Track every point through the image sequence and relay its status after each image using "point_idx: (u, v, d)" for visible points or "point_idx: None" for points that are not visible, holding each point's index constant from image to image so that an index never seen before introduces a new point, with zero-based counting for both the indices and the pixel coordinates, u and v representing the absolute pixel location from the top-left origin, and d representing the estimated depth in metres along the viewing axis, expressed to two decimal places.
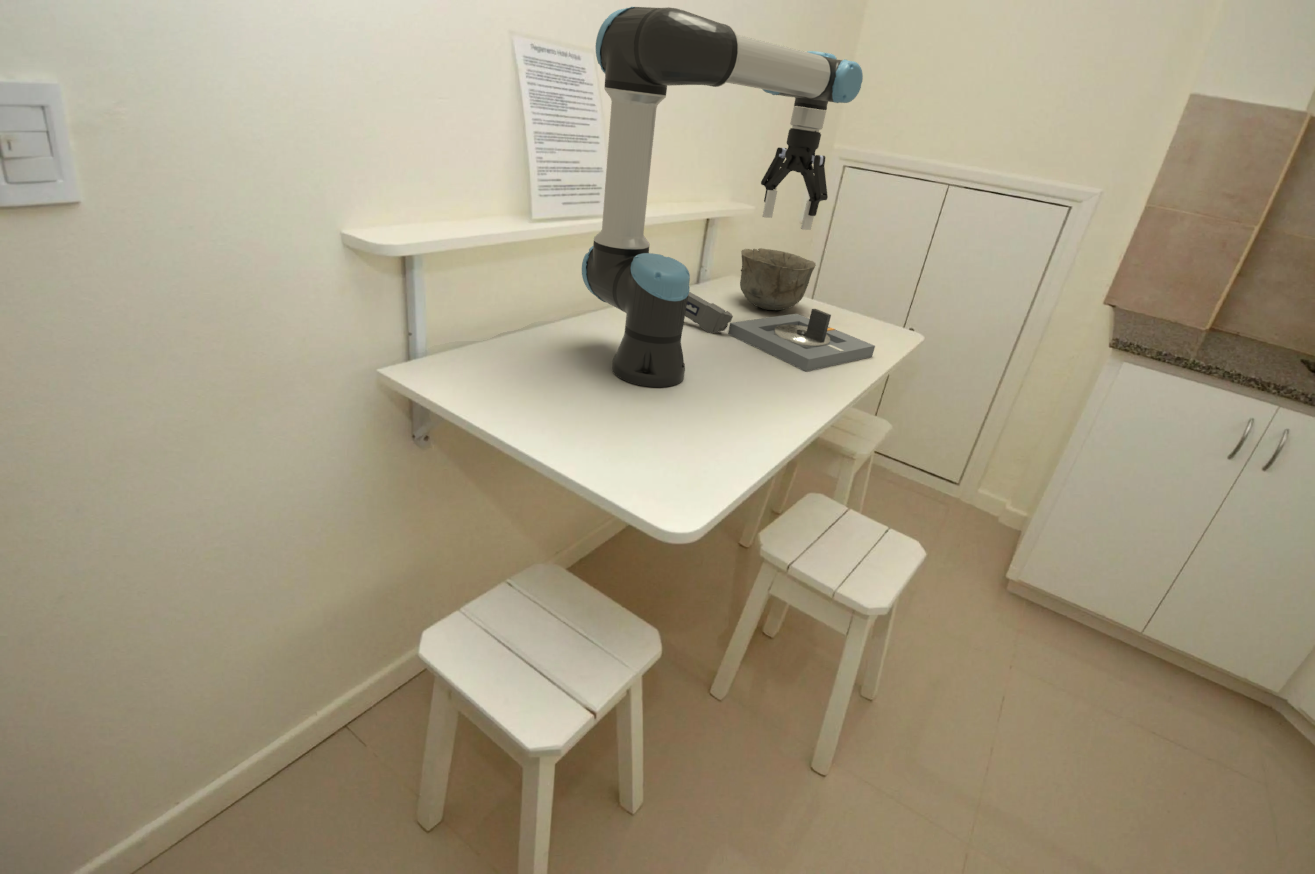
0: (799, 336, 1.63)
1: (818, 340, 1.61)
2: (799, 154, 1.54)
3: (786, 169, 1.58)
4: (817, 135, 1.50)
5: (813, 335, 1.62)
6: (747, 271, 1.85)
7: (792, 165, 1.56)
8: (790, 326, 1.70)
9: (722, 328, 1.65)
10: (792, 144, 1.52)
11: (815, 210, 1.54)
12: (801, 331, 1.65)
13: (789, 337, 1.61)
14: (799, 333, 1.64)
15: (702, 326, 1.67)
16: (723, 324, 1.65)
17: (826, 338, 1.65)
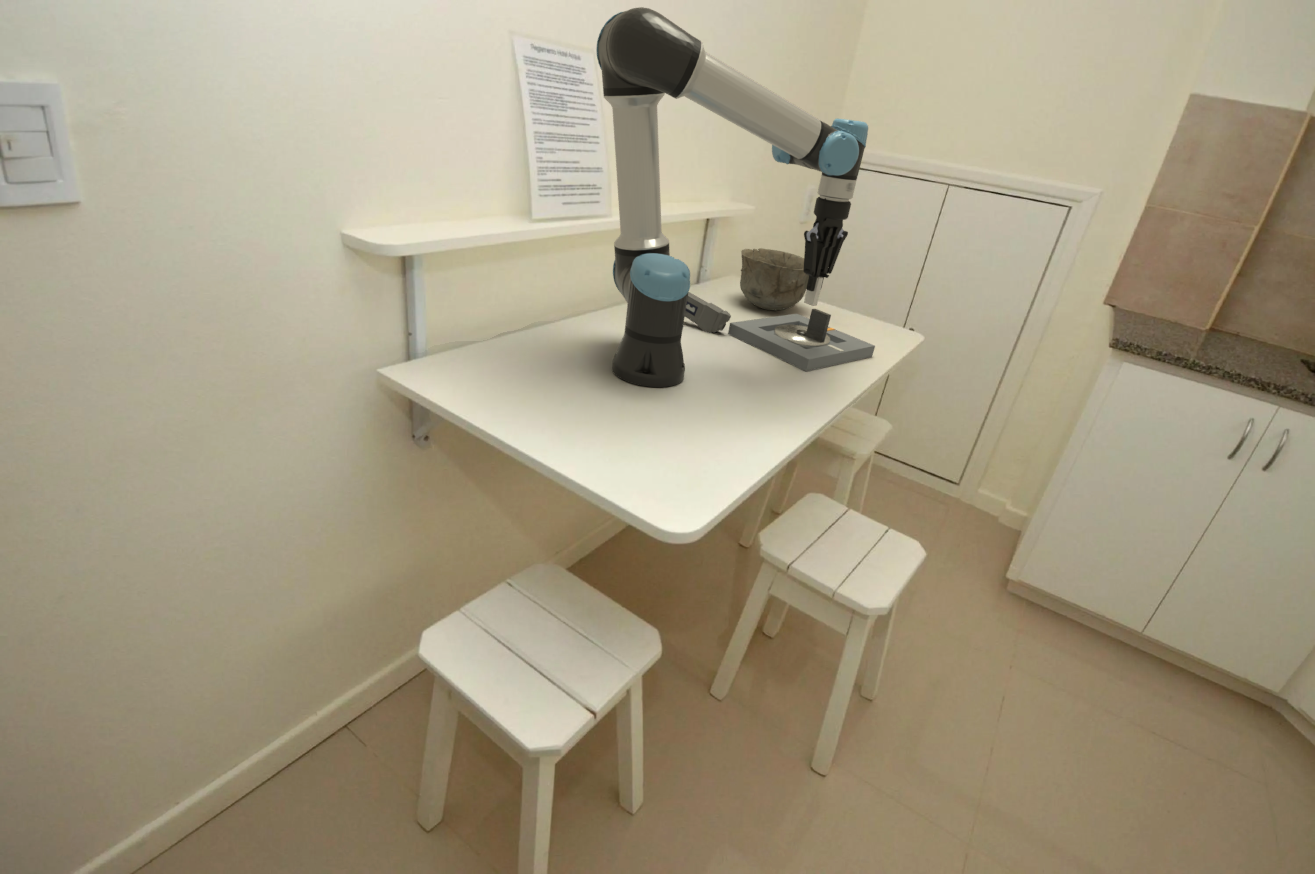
0: (799, 336, 1.63)
1: (818, 340, 1.61)
2: None
3: None
4: (823, 203, 1.40)
5: (813, 335, 1.62)
6: (747, 271, 1.85)
7: None
8: (790, 326, 1.70)
9: (720, 328, 1.65)
10: None
11: (810, 285, 1.50)
12: (801, 331, 1.65)
13: (789, 337, 1.61)
14: (799, 333, 1.64)
15: (700, 326, 1.67)
16: (721, 323, 1.65)
17: (826, 338, 1.65)
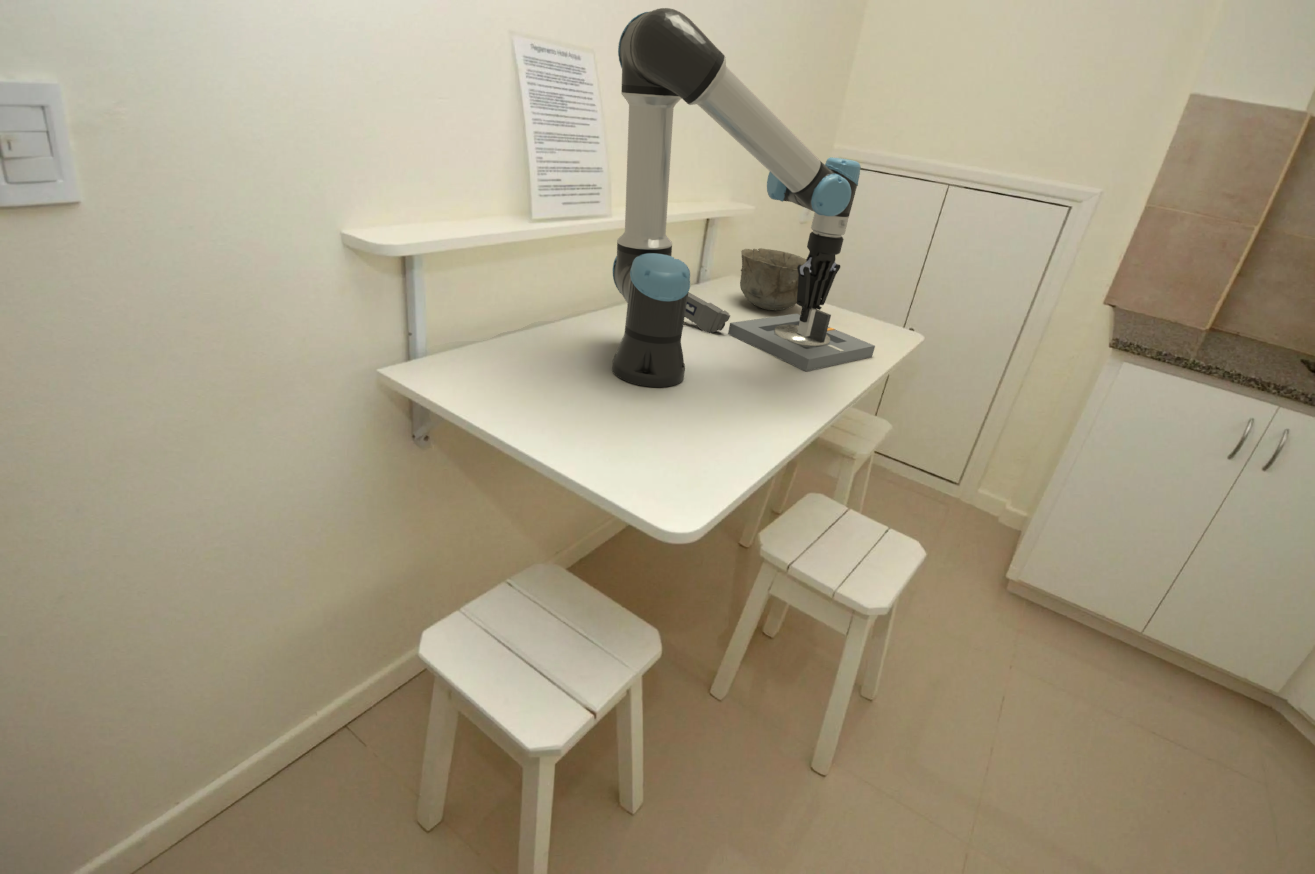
0: (799, 336, 1.63)
1: (818, 340, 1.61)
2: None
3: None
4: (816, 238, 1.44)
5: (813, 335, 1.62)
6: (747, 271, 1.85)
7: None
8: (790, 326, 1.70)
9: (719, 327, 1.65)
10: None
11: (803, 316, 1.54)
12: None
13: (789, 337, 1.61)
14: None
15: (699, 325, 1.67)
16: (720, 323, 1.65)
17: (826, 338, 1.65)
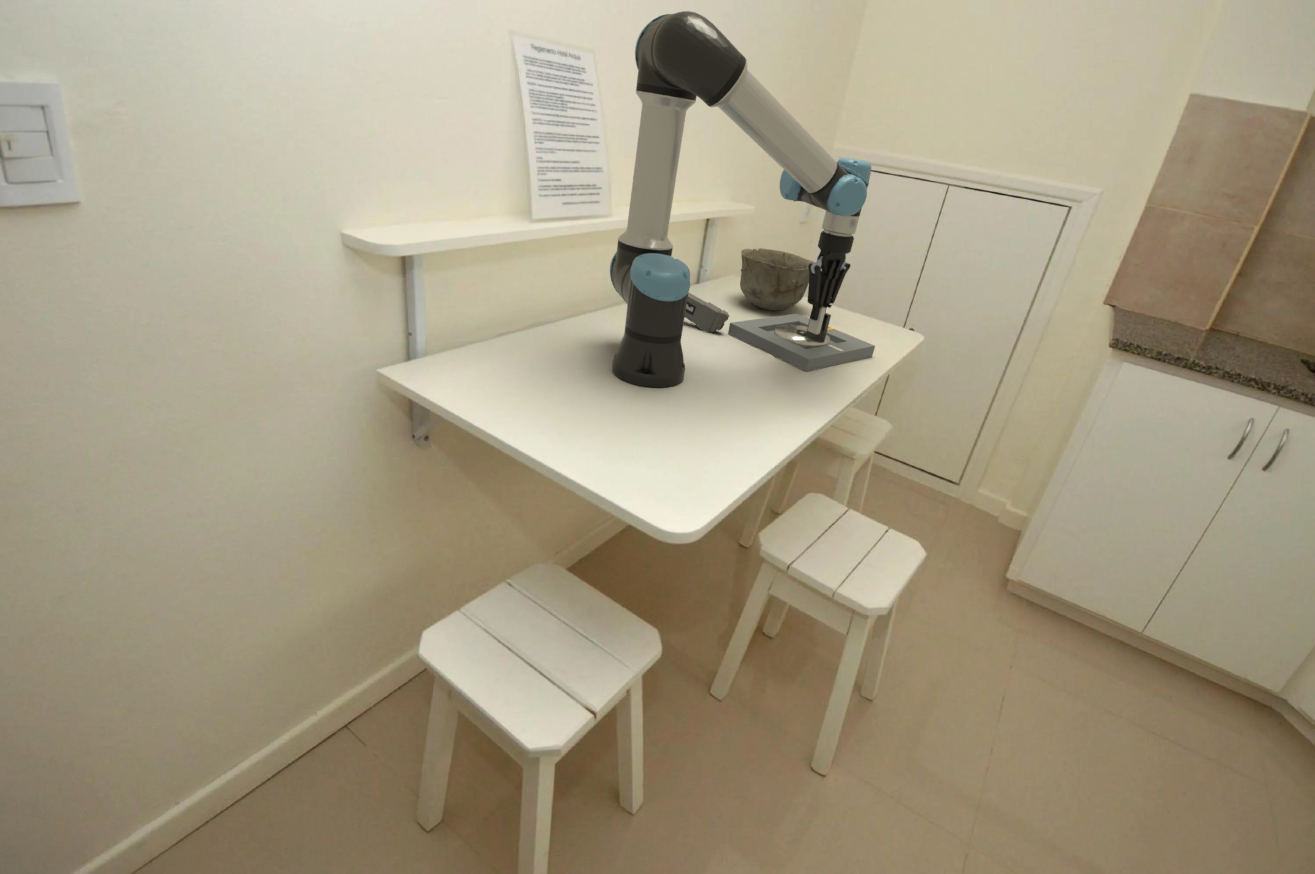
0: (799, 336, 1.63)
1: (818, 340, 1.61)
2: None
3: None
4: (827, 237, 1.46)
5: (813, 335, 1.62)
6: (747, 271, 1.85)
7: None
8: (790, 326, 1.70)
9: (718, 327, 1.65)
10: None
11: (813, 314, 1.56)
12: (801, 331, 1.65)
13: (789, 337, 1.61)
14: (799, 333, 1.64)
15: (699, 325, 1.67)
16: (720, 323, 1.65)
17: (826, 338, 1.65)
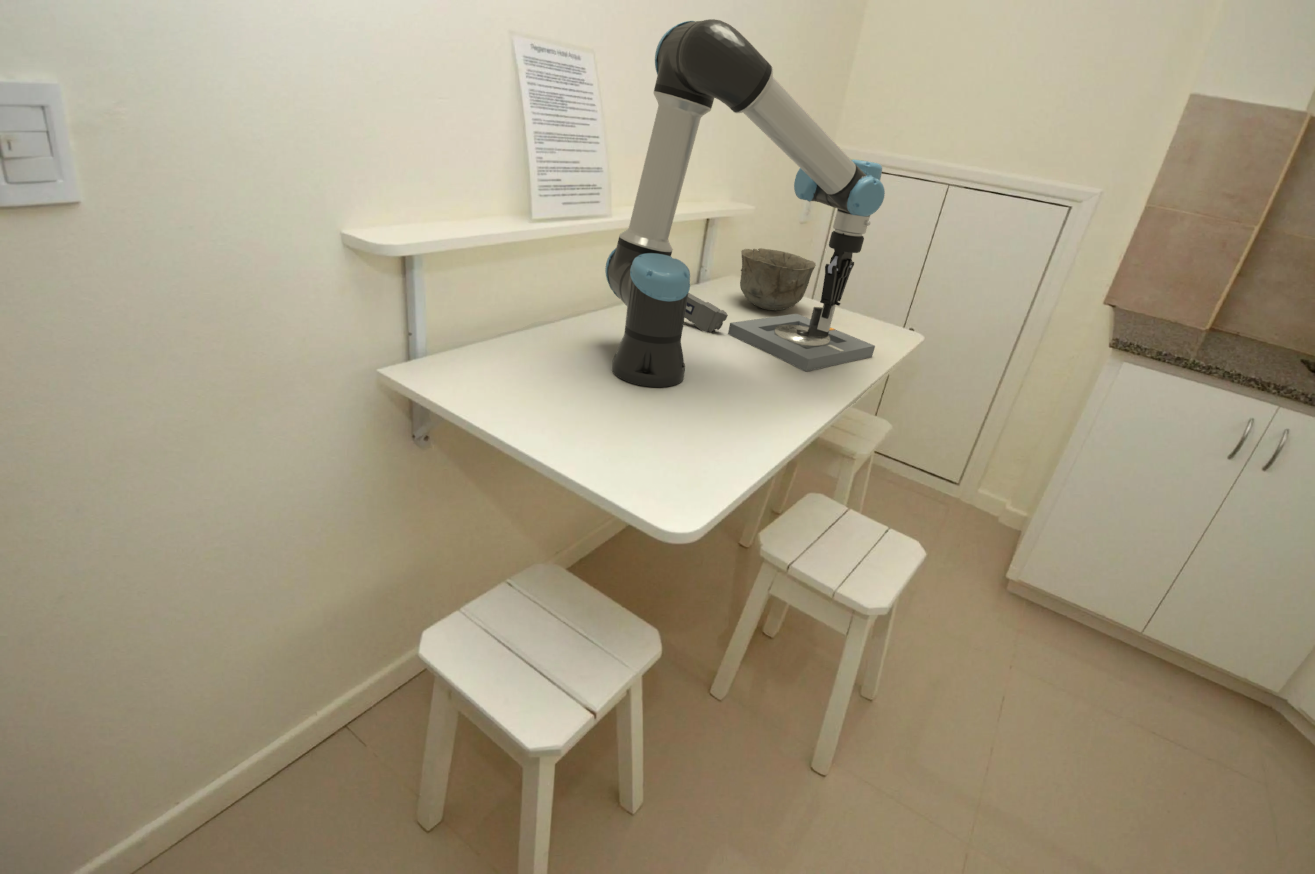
0: (810, 337, 1.63)
1: (824, 335, 1.65)
2: None
3: None
4: (842, 237, 1.50)
5: (818, 331, 1.65)
6: (747, 271, 1.85)
7: None
8: (780, 330, 1.66)
9: (717, 327, 1.65)
10: None
11: (825, 313, 1.59)
12: (802, 332, 1.65)
13: (813, 342, 1.60)
14: (805, 334, 1.64)
15: (697, 325, 1.67)
16: (718, 323, 1.65)
17: None
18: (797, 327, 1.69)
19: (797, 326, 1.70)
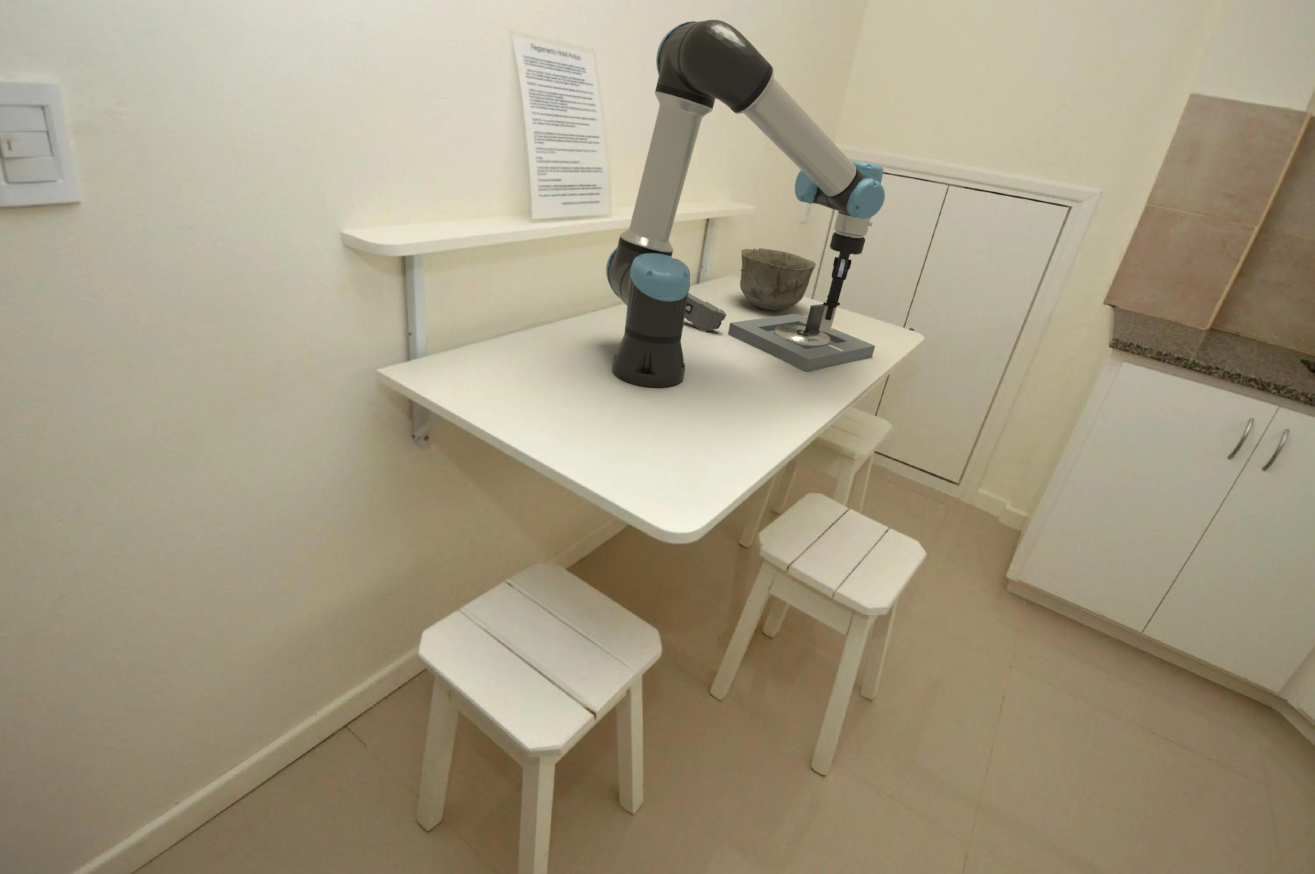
0: (813, 336, 1.64)
1: (818, 331, 1.68)
2: None
3: None
4: (849, 240, 1.49)
5: (814, 328, 1.67)
6: (747, 271, 1.85)
7: None
8: (784, 334, 1.63)
9: (716, 326, 1.65)
10: (830, 246, 1.54)
11: (829, 315, 1.59)
12: (803, 332, 1.65)
13: (822, 341, 1.62)
14: (807, 334, 1.64)
15: (696, 324, 1.68)
16: (717, 322, 1.65)
17: (801, 326, 1.71)
18: (788, 327, 1.68)
19: (786, 326, 1.69)
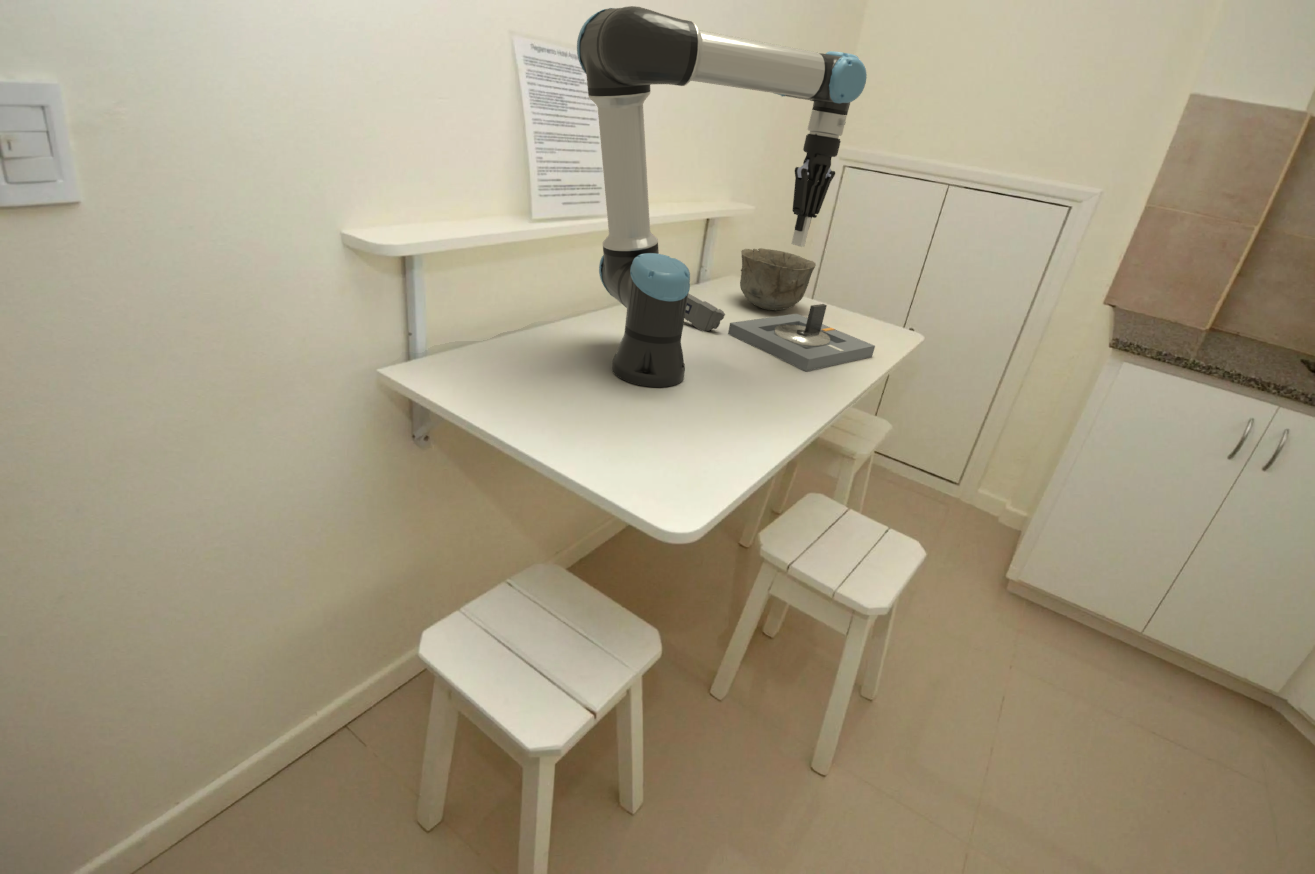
0: (813, 336, 1.64)
1: (818, 331, 1.68)
2: None
3: None
4: (814, 138, 1.40)
5: (814, 328, 1.67)
6: (747, 271, 1.85)
7: None
8: (784, 334, 1.63)
9: (714, 326, 1.66)
10: None
11: (798, 224, 1.49)
12: (803, 332, 1.65)
13: (822, 341, 1.62)
14: (807, 334, 1.64)
15: (695, 324, 1.68)
16: (715, 322, 1.65)
17: (801, 326, 1.71)
18: (788, 327, 1.68)
19: (786, 326, 1.69)
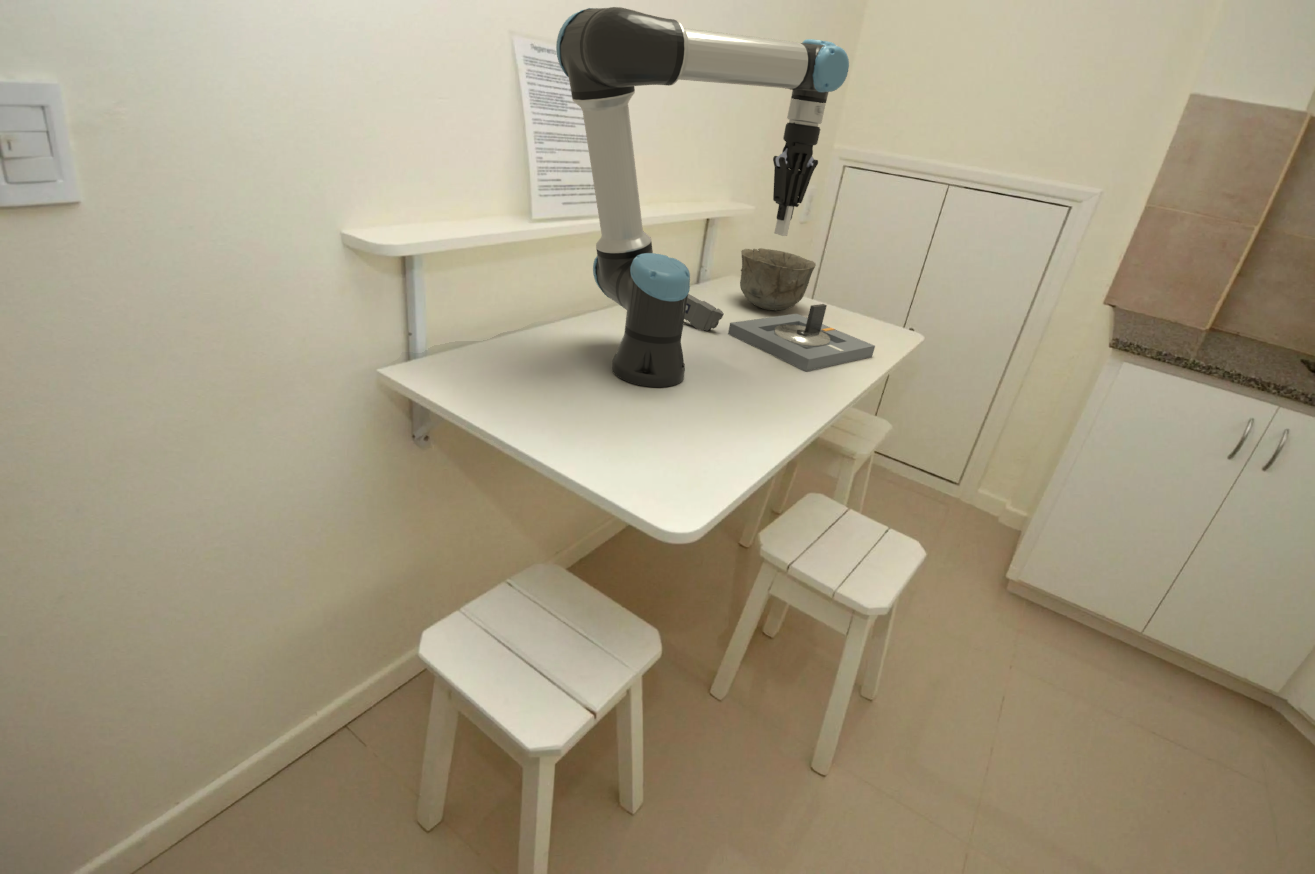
0: (813, 336, 1.64)
1: (818, 331, 1.68)
2: None
3: None
4: (792, 127, 1.40)
5: (814, 328, 1.67)
6: (747, 271, 1.85)
7: None
8: (784, 334, 1.63)
9: (713, 325, 1.66)
10: None
11: (780, 214, 1.50)
12: (803, 332, 1.65)
13: (822, 341, 1.62)
14: (807, 334, 1.64)
15: (693, 324, 1.68)
16: (714, 321, 1.65)
17: (801, 326, 1.71)
18: (788, 327, 1.68)
19: (786, 326, 1.69)
